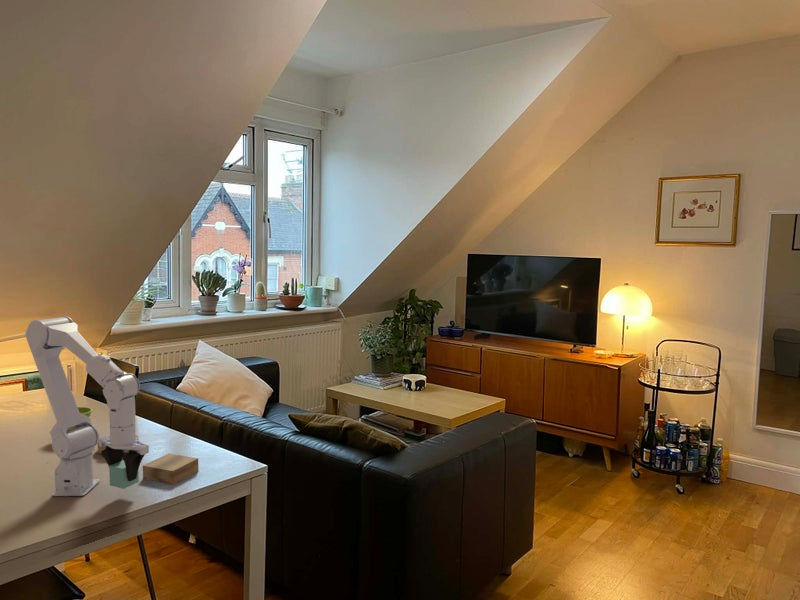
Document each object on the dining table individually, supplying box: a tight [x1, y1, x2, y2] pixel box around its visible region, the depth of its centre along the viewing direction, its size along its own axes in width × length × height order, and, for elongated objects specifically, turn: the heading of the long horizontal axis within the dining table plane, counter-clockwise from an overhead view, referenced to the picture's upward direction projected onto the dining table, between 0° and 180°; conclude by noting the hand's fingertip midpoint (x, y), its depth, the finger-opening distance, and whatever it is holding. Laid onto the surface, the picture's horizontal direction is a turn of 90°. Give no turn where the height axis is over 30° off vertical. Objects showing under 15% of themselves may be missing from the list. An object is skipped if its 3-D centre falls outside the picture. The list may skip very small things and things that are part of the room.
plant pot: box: [67, 406, 93, 431], centre depth 196 cm, size 9×9×9 cm
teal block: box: [108, 459, 140, 490], centre depth 152 cm, size 5×5×5 cm
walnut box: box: [142, 453, 199, 486], centre depth 167 cm, size 10×10×4 cm
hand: (124, 477), depth 152 cm, fingers closed on teal block, 5 cm apart
